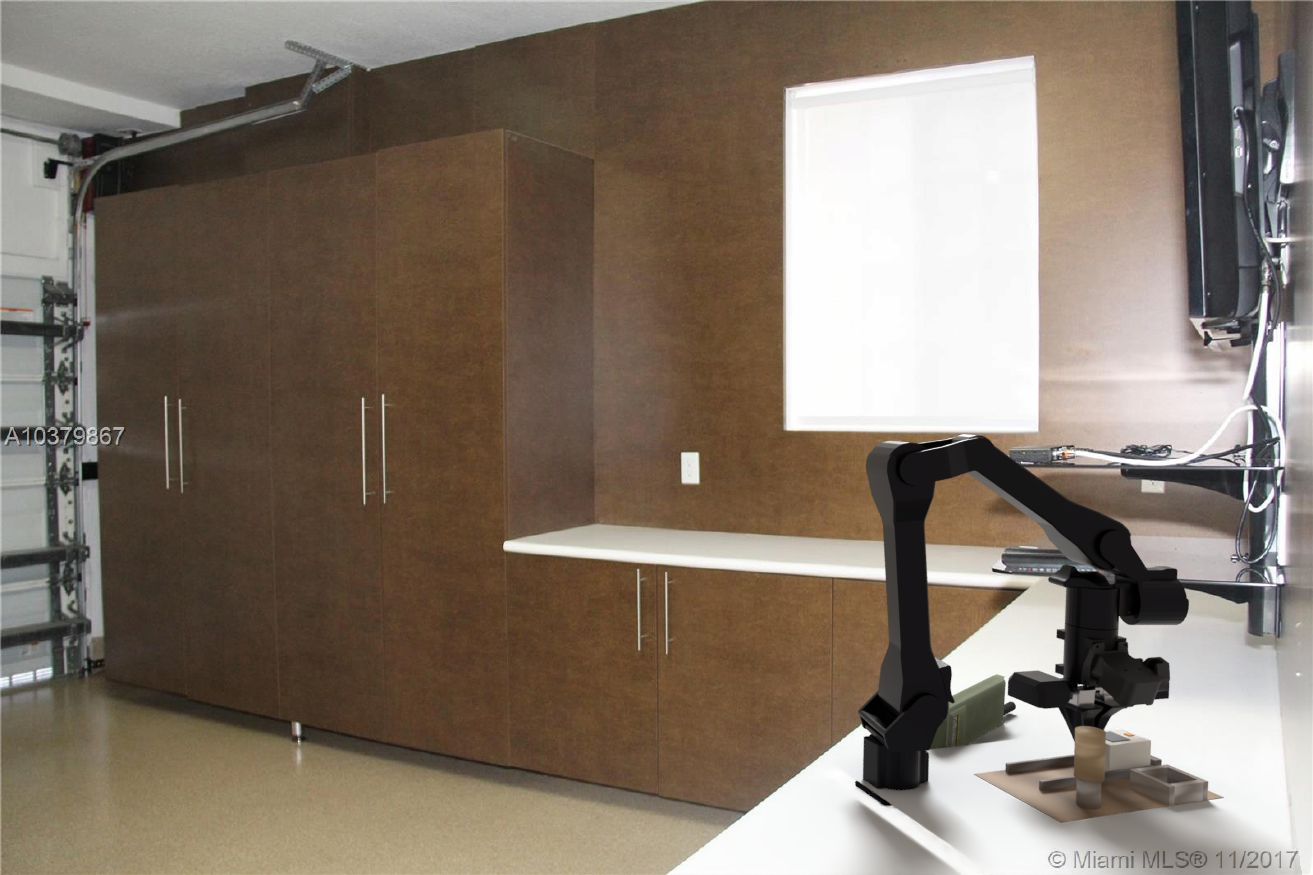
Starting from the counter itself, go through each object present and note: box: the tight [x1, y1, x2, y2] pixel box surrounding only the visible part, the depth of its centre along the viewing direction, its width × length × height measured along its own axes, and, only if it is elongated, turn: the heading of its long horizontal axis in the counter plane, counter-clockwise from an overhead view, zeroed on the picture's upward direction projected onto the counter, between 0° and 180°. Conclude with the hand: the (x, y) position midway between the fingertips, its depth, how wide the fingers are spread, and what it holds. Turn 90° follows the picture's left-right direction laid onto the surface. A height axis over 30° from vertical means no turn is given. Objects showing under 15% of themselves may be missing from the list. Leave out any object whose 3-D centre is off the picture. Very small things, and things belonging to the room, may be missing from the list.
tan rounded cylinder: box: [1073, 726, 1106, 810], centre depth 106 cm, size 3×3×8 cm
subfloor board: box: [973, 754, 1224, 823], centre depth 111 cm, size 22×14×4 cm, turn 109°
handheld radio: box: [930, 674, 1017, 750], centre depth 134 cm, size 7×3×25 cm
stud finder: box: [1104, 727, 1152, 771], centre depth 117 cm, size 6×5×4 cm
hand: (1086, 758), depth 115 cm, fingers closed
